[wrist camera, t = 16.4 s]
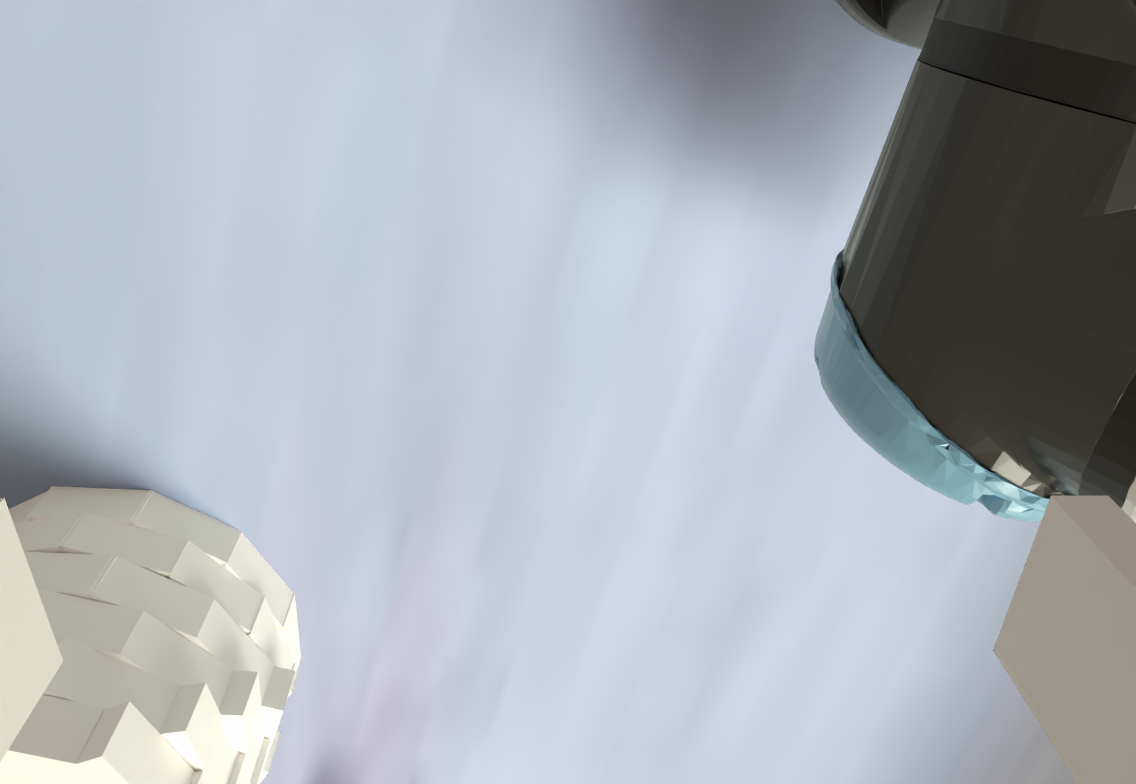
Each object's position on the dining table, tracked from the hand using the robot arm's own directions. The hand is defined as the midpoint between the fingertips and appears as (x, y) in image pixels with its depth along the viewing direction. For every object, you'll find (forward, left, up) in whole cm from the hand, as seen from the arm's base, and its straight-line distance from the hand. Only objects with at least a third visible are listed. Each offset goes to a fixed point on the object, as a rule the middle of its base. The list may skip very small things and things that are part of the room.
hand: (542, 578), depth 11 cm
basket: (+27, +36, -37) cm, 58 cm away
